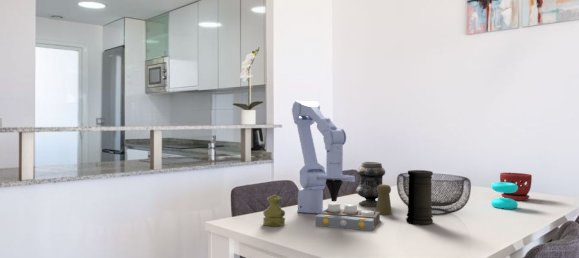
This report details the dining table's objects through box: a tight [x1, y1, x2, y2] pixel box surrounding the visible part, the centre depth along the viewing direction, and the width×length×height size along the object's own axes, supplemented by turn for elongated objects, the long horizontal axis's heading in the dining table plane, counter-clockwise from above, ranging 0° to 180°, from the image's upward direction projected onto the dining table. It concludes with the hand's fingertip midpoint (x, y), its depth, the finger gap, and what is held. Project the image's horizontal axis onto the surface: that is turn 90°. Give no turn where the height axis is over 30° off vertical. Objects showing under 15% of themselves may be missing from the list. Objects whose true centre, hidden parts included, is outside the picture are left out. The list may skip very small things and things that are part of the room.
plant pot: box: [499, 172, 533, 201], centre depth 208 cm, size 13×13×12 cm
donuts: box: [490, 181, 519, 210], centre depth 187 cm, size 10×10×10 cm
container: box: [405, 169, 434, 226], centre depth 157 cm, size 9×9×18 cm
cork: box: [375, 184, 393, 216], centre depth 172 cm, size 6×6×11 cm
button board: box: [321, 207, 381, 227], centre depth 158 cm, size 19×10×3 cm, turn 70°
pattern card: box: [315, 214, 375, 231], centre depth 150 cm, size 19×4×3 cm, turn 70°
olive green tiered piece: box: [262, 194, 286, 228], centre depth 152 cm, size 7×7×10 cm
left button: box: [327, 202, 341, 213], centre depth 160 cm, size 4×4×4 cm
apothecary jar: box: [355, 161, 386, 207], centre depth 191 cm, size 12×12×18 cm
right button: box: [361, 210, 375, 216], centre depth 156 cm, size 4×4×4 cm
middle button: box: [343, 203, 358, 214], centre depth 158 cm, size 4×4×4 cm
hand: (334, 200), depth 160 cm, fingers closed
